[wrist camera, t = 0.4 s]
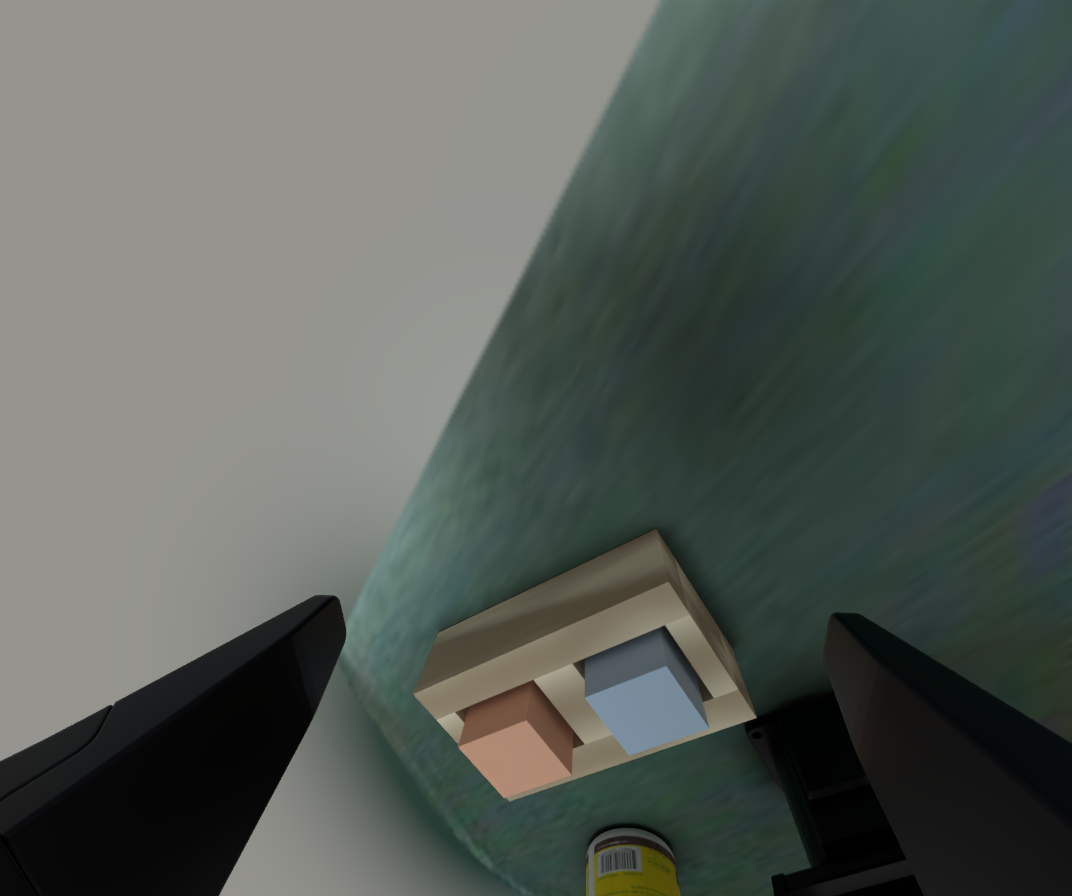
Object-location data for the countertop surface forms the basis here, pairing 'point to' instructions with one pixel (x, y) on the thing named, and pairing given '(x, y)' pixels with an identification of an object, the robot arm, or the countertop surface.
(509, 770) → the key terracotta
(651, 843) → the supplement bottle
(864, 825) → the robot arm
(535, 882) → the countertop surface
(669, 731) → the light blue square block
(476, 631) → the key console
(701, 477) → the countertop surface
